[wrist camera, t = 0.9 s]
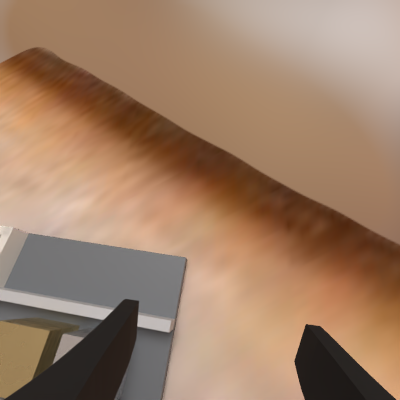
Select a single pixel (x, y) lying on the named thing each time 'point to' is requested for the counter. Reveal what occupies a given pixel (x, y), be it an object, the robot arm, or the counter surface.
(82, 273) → the channel board
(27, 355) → the mustard yellow cube
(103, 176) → the counter surface
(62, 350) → the light grey cube
